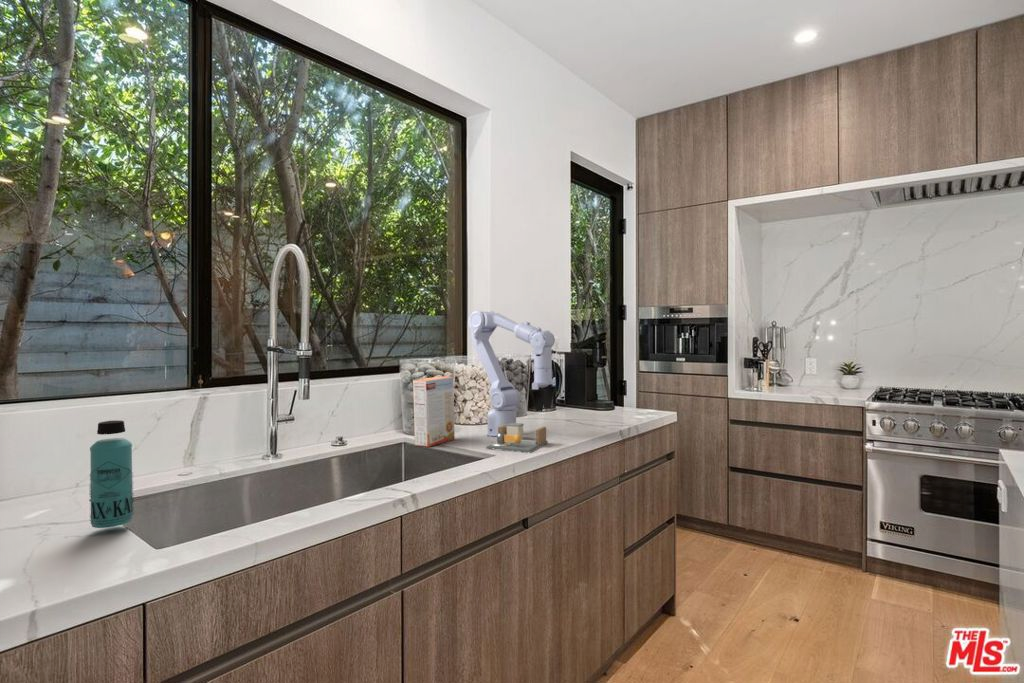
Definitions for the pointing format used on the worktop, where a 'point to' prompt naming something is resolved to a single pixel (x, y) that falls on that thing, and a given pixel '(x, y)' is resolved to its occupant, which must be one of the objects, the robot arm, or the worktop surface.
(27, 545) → the worktop surface
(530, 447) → the rail board
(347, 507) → the worktop surface
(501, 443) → the gauge dial
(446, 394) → the cracker box
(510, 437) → the gauge lever
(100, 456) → the beverage bottle
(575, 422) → the worktop surface
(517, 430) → the beige block
